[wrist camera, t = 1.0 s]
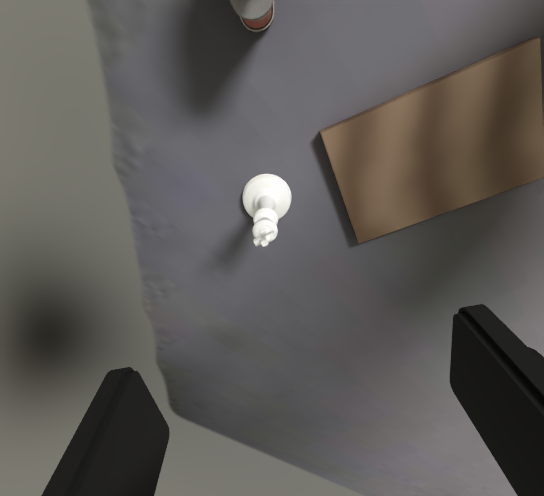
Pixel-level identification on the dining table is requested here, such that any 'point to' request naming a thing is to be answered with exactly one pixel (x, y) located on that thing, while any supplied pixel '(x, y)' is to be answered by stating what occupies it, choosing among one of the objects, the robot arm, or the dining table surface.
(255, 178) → the chess piece
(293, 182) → the dining table surface
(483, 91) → the walnut board
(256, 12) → the lighter
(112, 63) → the dining table surface
